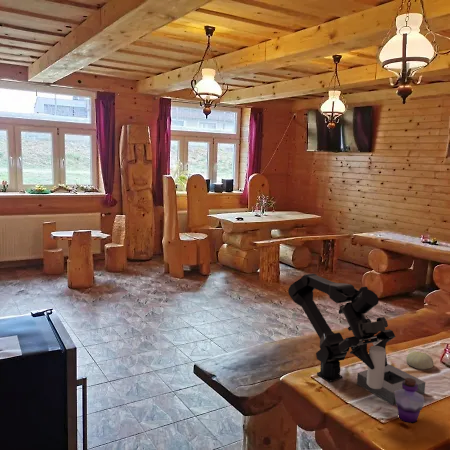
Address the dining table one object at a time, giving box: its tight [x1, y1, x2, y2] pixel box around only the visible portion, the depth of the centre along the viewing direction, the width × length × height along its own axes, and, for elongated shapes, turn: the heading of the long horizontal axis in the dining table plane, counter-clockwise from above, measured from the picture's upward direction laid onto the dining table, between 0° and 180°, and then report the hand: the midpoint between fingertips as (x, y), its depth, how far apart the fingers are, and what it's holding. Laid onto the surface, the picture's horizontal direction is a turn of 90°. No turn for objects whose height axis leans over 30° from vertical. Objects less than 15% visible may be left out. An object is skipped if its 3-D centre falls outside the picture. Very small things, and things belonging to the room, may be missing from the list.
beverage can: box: [367, 345, 387, 389], centre depth 136 cm, size 5×5×12 cm
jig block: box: [356, 363, 426, 406], centre depth 148 cm, size 15×15×4 cm
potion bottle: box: [394, 378, 425, 424], centre depth 131 cm, size 9×9×12 cm
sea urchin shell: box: [405, 351, 435, 370], centre depth 166 cm, size 9×8×8 cm
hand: (379, 367), depth 134 cm, fingers closed on beverage can, 5 cm apart
